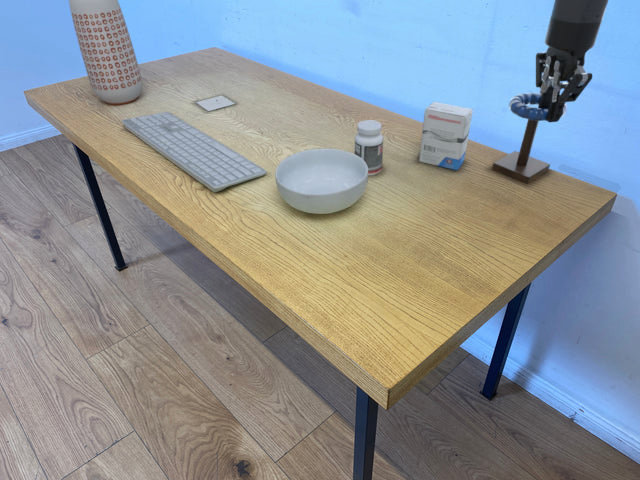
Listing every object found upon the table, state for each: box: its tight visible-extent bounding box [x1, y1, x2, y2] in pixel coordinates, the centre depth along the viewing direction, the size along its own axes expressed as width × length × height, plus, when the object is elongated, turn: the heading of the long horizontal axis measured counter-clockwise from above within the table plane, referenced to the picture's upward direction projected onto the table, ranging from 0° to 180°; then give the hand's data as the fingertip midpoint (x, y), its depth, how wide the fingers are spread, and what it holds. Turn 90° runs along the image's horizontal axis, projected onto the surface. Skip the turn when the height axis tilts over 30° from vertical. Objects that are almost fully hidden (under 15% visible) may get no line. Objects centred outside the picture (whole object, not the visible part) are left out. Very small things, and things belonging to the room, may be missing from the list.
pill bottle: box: [354, 119, 384, 176], centre depth 95 cm, size 6×6×10 cm
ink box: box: [418, 101, 474, 171], centre depth 97 cm, size 8×5×12 cm, turn 59°
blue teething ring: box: [508, 92, 568, 122], centre depth 88 cm, size 10×10×2 cm
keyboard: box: [121, 111, 267, 193], centre depth 106 cm, size 44×12×2 cm, turn 41°
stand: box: [491, 119, 551, 185], centre depth 93 cm, size 8×8×12 cm
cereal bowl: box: [274, 147, 369, 215], centre depth 87 cm, size 17×17×7 cm
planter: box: [68, 0, 143, 106], centre depth 124 cm, size 13×13×28 cm
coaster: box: [195, 95, 236, 112], centre depth 128 cm, size 8×8×1 cm
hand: (547, 117), depth 86 cm, fingers closed on blue teething ring, 2 cm apart
